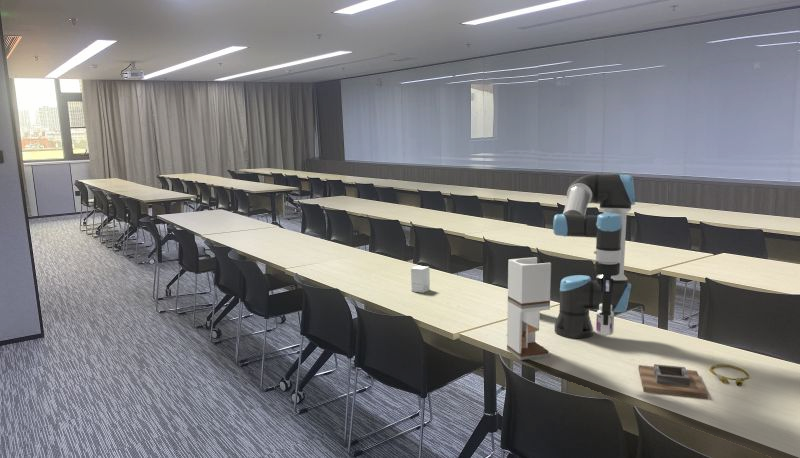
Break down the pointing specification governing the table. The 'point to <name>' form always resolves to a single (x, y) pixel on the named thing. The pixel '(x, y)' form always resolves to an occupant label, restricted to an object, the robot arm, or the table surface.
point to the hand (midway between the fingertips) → (604, 330)
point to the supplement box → (420, 279)
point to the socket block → (671, 381)
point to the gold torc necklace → (724, 380)
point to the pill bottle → (598, 322)
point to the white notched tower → (526, 305)
